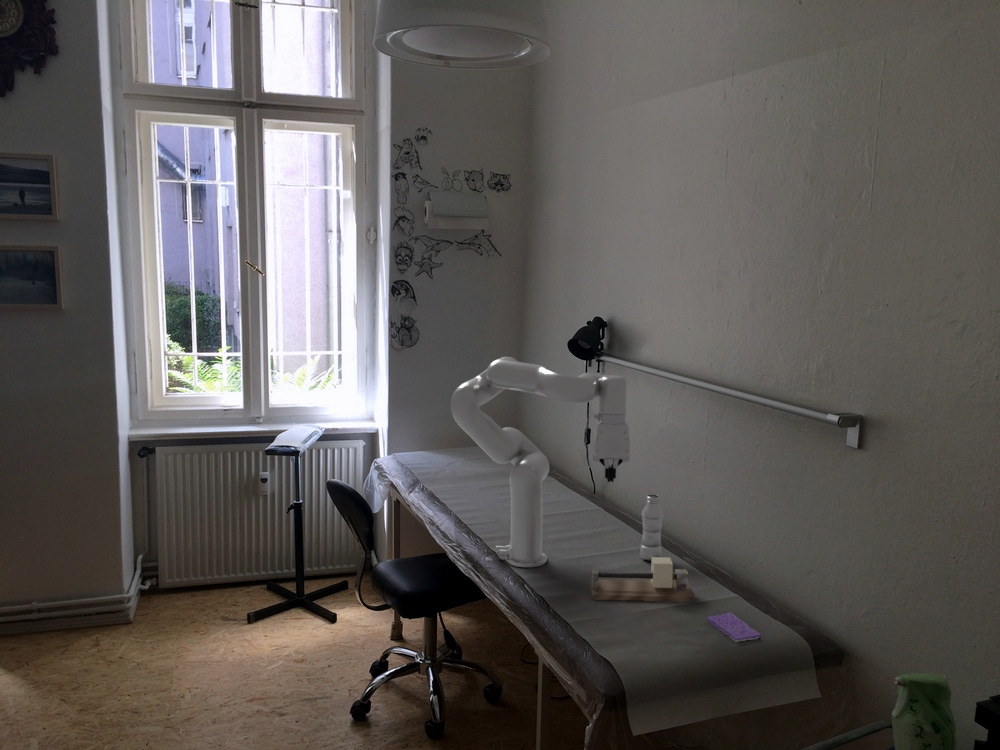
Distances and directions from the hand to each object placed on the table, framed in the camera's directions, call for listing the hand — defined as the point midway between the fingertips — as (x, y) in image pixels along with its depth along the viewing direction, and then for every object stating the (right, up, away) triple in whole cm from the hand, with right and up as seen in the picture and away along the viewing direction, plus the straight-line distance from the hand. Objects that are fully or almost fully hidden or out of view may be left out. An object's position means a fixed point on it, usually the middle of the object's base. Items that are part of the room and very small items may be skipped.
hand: (610, 480), depth 230 cm
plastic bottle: (+14, -26, +12) cm, 32 cm away
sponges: (+26, -33, -33) cm, 53 cm away
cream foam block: (+12, -27, -13) cm, 32 cm away
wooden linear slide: (+7, -29, -12) cm, 32 cm away
